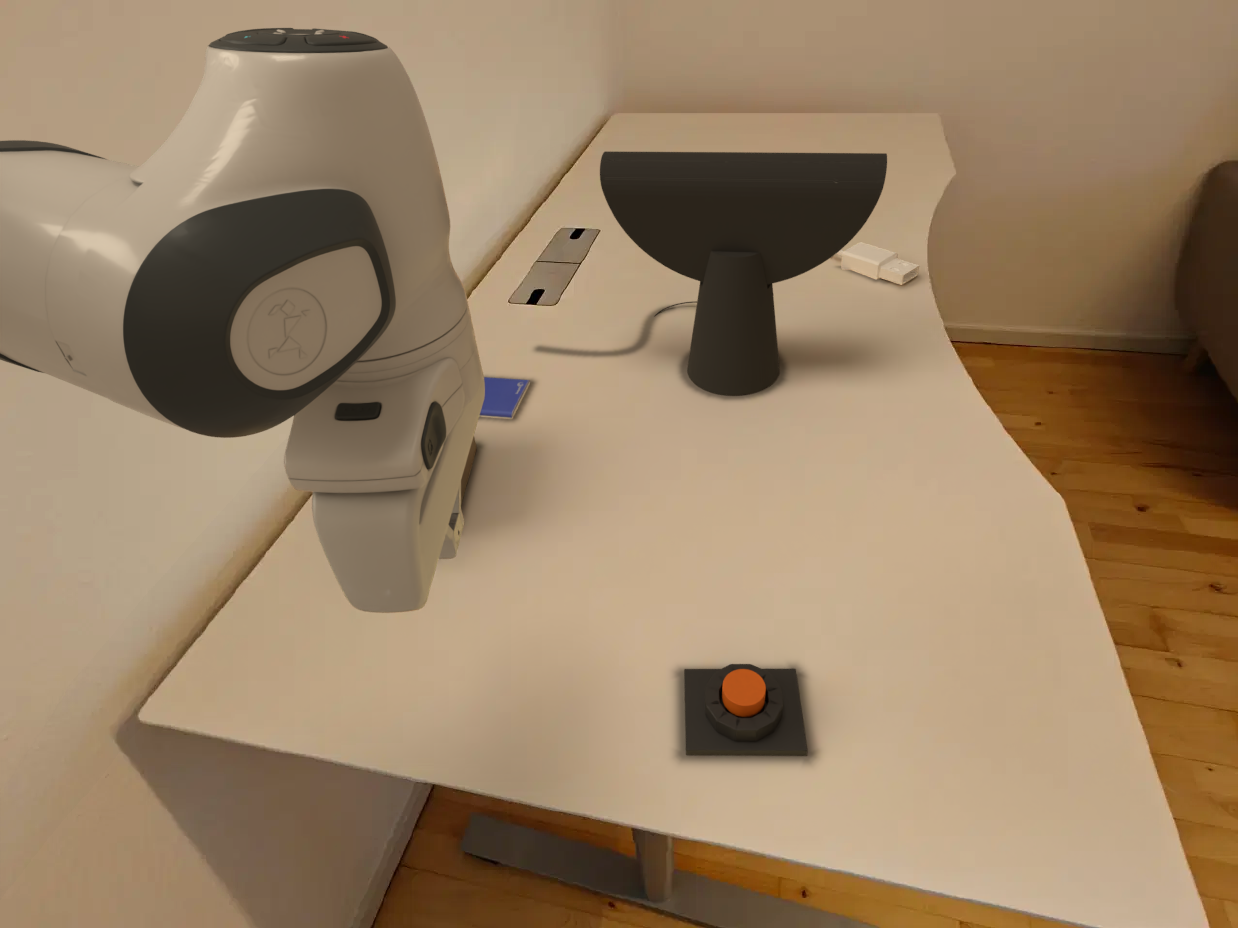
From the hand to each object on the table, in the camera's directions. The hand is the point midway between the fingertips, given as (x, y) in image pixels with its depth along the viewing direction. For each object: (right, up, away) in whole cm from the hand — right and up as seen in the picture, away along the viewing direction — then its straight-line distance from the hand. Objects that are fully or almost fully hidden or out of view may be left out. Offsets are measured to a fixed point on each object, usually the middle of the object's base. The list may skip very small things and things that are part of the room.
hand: (448, 542), depth 52 cm
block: (+22, -17, +19) cm, 34 cm away
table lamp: (+21, +19, +62) cm, 68 cm away
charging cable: (+46, +39, +83) cm, 102 cm away
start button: (+22, -15, +17) cm, 31 cm away
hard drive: (-8, +13, +58) cm, 60 cm away
